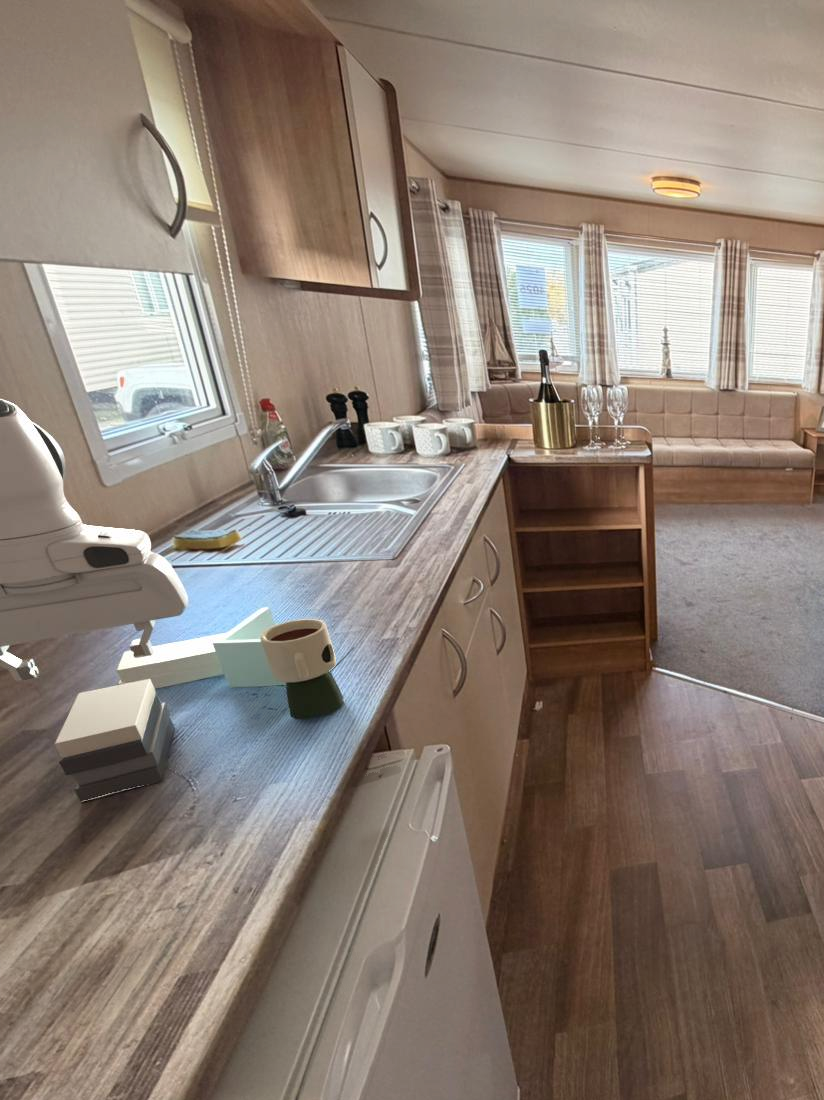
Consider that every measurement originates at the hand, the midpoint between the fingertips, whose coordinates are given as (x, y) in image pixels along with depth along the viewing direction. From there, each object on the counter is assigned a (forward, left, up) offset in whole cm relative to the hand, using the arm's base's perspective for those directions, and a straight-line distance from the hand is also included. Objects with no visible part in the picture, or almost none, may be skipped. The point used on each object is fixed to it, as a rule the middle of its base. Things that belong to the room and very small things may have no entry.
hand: (88, 665), depth 73 cm
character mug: (+19, +1, -14) cm, 23 cm away
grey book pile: (0, 0, -14) cm, 14 cm away
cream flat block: (0, 0, -8) cm, 8 cm away
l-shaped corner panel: (+16, +17, -14) cm, 28 cm away
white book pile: (+3, +23, -14) cm, 27 cm away
